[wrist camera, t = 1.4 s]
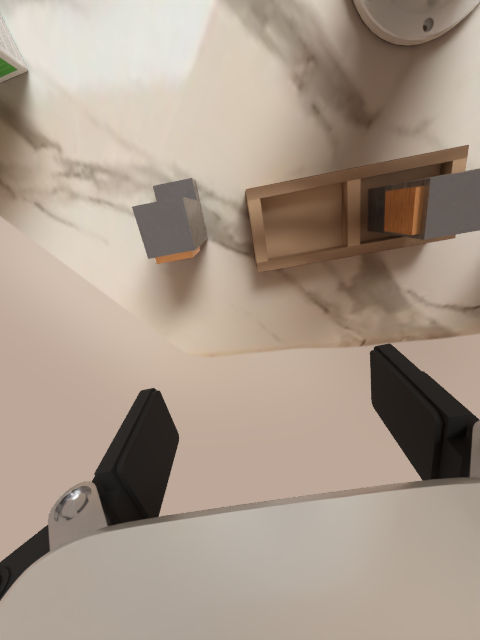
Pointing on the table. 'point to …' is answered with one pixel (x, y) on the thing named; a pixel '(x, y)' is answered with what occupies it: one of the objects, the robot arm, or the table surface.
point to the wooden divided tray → (334, 211)
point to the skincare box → (9, 55)
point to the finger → (172, 222)
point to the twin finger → (427, 206)
